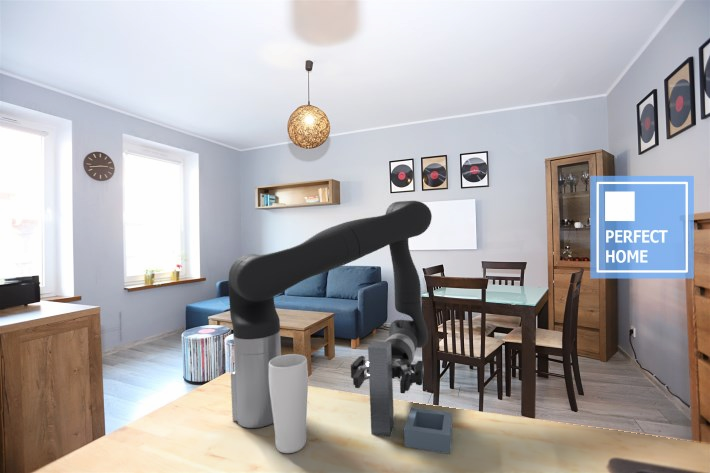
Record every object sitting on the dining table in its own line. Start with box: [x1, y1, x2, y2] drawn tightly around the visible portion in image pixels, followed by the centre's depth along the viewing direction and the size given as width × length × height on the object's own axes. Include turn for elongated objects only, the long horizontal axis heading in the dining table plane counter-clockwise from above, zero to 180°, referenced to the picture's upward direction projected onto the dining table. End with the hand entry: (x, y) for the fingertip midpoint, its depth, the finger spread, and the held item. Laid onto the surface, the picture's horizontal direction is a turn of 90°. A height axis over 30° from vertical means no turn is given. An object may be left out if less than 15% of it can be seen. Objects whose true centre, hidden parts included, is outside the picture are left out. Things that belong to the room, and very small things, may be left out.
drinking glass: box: [268, 353, 309, 454], centre depth 59 cm, size 7×7×15 cm
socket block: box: [403, 406, 453, 455], centre depth 60 cm, size 8×8×3 cm
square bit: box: [367, 340, 395, 438], centre depth 63 cm, size 4×4×16 cm
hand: (378, 385), depth 61 cm, fingers open, 8 cm apart
